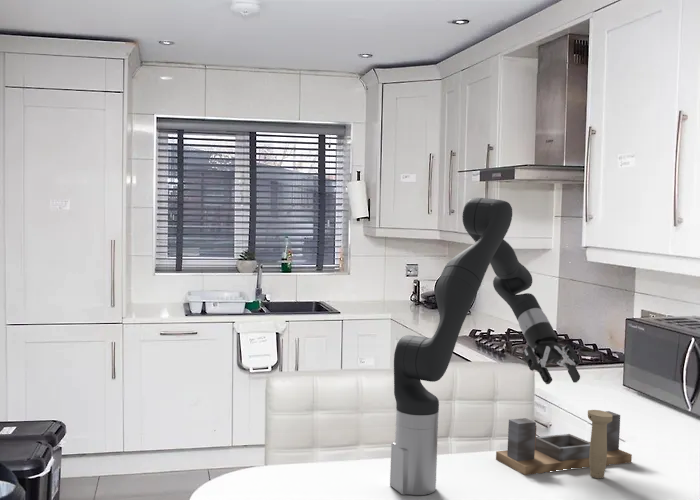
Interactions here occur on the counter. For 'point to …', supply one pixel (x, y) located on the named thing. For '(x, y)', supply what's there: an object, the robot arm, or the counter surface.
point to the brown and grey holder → (555, 448)
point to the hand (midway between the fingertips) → (563, 381)
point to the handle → (598, 442)
